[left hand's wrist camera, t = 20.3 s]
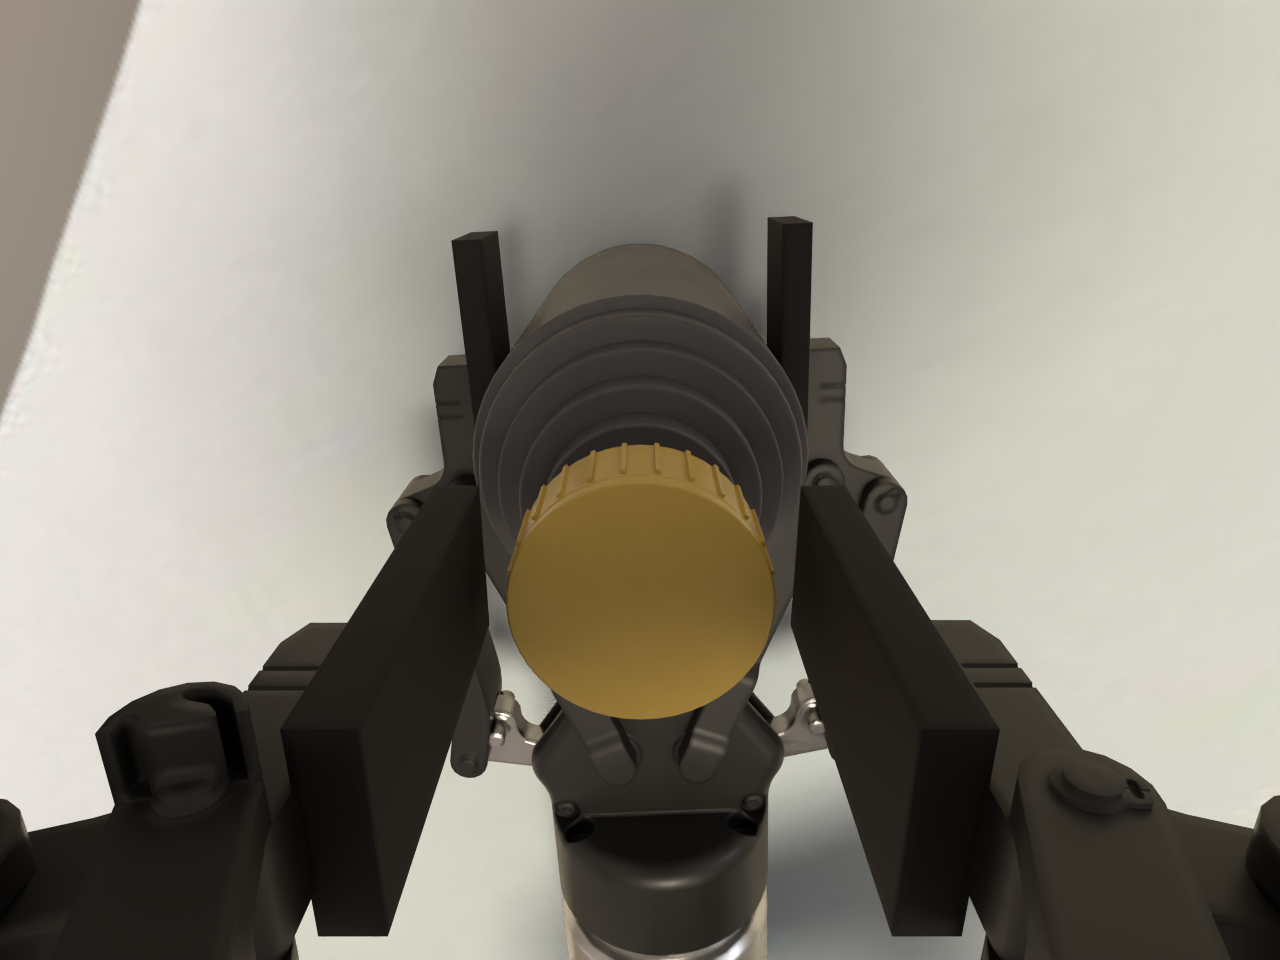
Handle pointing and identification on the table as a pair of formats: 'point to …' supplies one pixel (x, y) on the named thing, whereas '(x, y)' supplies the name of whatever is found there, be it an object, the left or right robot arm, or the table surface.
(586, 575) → the cap
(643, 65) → the table surface
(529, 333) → the bottle
